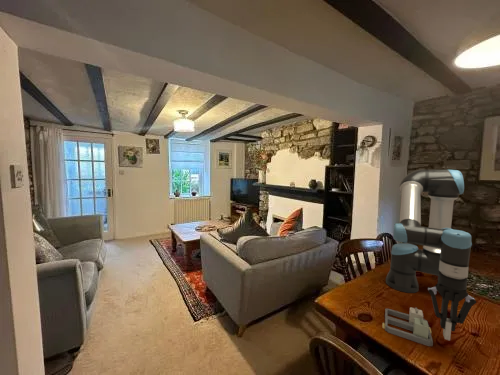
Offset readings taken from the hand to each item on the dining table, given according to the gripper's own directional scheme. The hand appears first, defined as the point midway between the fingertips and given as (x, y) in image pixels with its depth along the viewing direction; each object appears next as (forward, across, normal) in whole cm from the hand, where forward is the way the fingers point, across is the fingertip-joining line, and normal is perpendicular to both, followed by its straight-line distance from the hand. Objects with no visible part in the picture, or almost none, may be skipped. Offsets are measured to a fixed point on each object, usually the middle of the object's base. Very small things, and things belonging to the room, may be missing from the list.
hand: (446, 337), depth 80 cm
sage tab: (+3, -7, 0) cm, 8 cm away
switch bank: (+4, -11, +4) cm, 13 cm away
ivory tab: (+3, -8, +7) cm, 11 cm away
